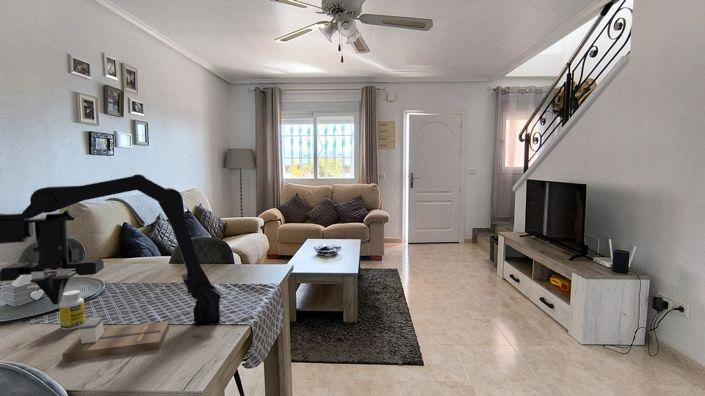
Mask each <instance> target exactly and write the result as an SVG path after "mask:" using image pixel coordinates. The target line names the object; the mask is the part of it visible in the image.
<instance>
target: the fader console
mask: <svg viewBox="0 0 705 396" xmlns="http://www.w3.org/2000/svg"><path fill="white" fill-rule="evenodd" d="M103 329H104V333H103V334H102V335H101V337H100V338H99V339H98V340H97V341H96V342H91V343H83V344H82V343H81V334H80V335H79V336H78V337H77V338H76V339H74V340H73V342H72V343H71V344H70V345H69V346H68V347H67V348H66V349H65V350H64V351H63V352H62V355H61V356H62V363H65V362H67V363H68V362H72V361H73V362H74V361H80V360H82V361H83V360H88V359H95V358H97V359H98V358H103V357H104V358H105V357H110V356H111V357H112V356H118V355H126V354H134V353H143V352H149V351H150V352H151V351H157V350H160V349H161V347H162V345H163V343H164V341H165V339H166V336H167V334H168V332H169V330H170V321H168V320H167V321H159V322H158V321H157V322H149V323H142V324H132V325H123V326H114V327H113V326H112V327H105V328H104V327H103Z"/></svg>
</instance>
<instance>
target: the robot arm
mask: <svg viewBox="0 0 705 396" xmlns="http://www.w3.org/2000/svg"><path fill="white" fill-rule="evenodd" d="M133 191H138V192H140V193H142V194H143V195H145V196H147V197H149V198H151V199H153V200H155V201H157V202H158V205H159V206H160V207H161V208H160V209H161V210H162V211H163V213H164V215H165V217H166V219H167V220H168V222H169V223H170V226H171V228H172V232H173V235H174V239H175V241H176V244H177V245H178V246H177V247H178V249H179V252H180V256H181V258H182V260H183V264H184V267H185V274H181V278H182V281H183V283H184V284H185V285H184V286H185V287H184V288H185V290H186V293H187V295H190V296H191V298H193V299H195V300H196V301H195V304H194V306H193V322H195V324H194V326H195V327H199V326H209V325H216V324H220V323H221V316H222V314H221V304H220V303H221V297H222V296H221V293H219V291H218V289H217V288H216V286H214V285H213V284H212V283H211V282H210V280H209V277H208V276H207V274H206V273H205V270H204V269H203V268H202V266H201V264H200V260H199V258H198V255H197V252H196V249H195V246H194V244H193V241H192V240H193V239H192V237H191V235H190V231H189V229H188V228H189V227H188V226H187V222H186V219H185V206H184V200H183V196H182V194H181V193H180V192H179V191H178V190H176V189H175V188H171V187H166V188H165V187H163V186H161V185H159V184H158V183H155V182H154V181H152V180H150V179H148V178H146V176H144V175H142V174H134V175H130V176H126V177H125V176H124V177H121V178H116V179H110V180H104V181H100V182H99V181H98V182H93V183H88V184H83V185H59V186H45V187H42V188H39V189H36V190H34V192H33V193H32V194H31V195H30V199H29V200H30V203H29V205H28V206H27V207H26V208H25V209H24V210H23V211H22V213H6V214H5V213H0V245H5V244H6V245H8V244H21V243H26V242H28V238H33V236H34V235H35V246H34V247H33V252H35V253H36V259H37V263H36V264H33V263H32V262H31V261H30V262H14V263H11V264H10V265H7V266H4V267H3V268H1V269H0V282H12V281H13V282H14V281H16V280H18V279H19V278H20V276H28V275H30V276H31V277H32V278H31V279H29V280H30V281H29V282H30V283H32V284H33V283H34V284H35V285H37V286H38V288H40V290H42V291H43V292H44V294H45V295H46V296H47V298H48V299H49V300H50V301H51V303H52V304H53V305H55V306H56V305H60V302H62V295H63V293H64V291H65V290H66V286H67V284H68V282H69V280H70V279H71V278H72V277H74V276H75V275H78V276H79V277H82V276H92V275H93V276H94V275H97V274H98V273H100V272H101V271H102V270H103V269H104V268H105V267H104V266H105V265H104V261H103V259H102V258H101V257H95V258H94V257H93V258H84V259H82V260H80V259H79V258H80V248H77V247H72V244H71V241H70V240H68V226H67V221H74V220H75V219H77V216H76V215H75V214H73V213H71V212H70V210H68V209H66V210H64V211H63V212H62V213H53V212H56V211H59V210H62V209H64V208H68V207H70V206H73V205H75V204H77V203H80V202H84V201H88V200H93V199H97V198H103V197H108V196H112V195H119V194H122V193H128V192H133ZM47 213H48V214H47ZM42 214H46V215H45V217H43V218H35V217H37V216H39V215H42ZM34 232H35V234H34ZM79 260H80V261H79ZM76 262H77V263H76Z"/></svg>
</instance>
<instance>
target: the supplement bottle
mask: <svg viewBox="0 0 705 396" xmlns="http://www.w3.org/2000/svg"><path fill="white" fill-rule="evenodd" d="M58 306H59V321H60V322H59V323H60V329H61V330H63V331H72V330H77V329H80V326H81V325H82V324H83V323H84V322H85V321H86V318H85V316H86V315H85V301H84V298H83V297H81V290H78V289H76V290H75V289H74V290H68V291H65V292H63V295H62V298H61V301H60V303H59V304H58Z"/></svg>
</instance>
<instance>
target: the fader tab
mask: <svg viewBox="0 0 705 396" xmlns="http://www.w3.org/2000/svg"><path fill="white" fill-rule="evenodd" d="M79 330H80V335H81V343H82V344H83V343H91V342H96V341H97V340H98V339H99V338H100V337H101V335H102V334H103V333H104V316H98V317H97V316H95V317H89V318H87V319H85V322H84V323H83V324H82V325H81V326H80V327H79Z"/></svg>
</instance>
